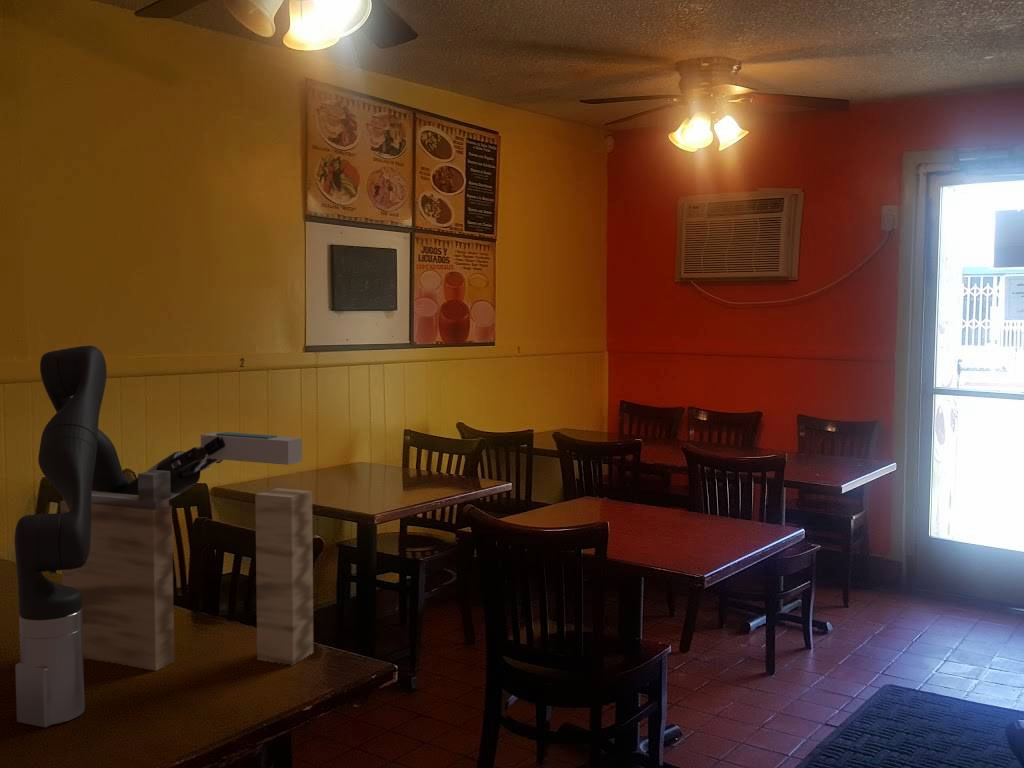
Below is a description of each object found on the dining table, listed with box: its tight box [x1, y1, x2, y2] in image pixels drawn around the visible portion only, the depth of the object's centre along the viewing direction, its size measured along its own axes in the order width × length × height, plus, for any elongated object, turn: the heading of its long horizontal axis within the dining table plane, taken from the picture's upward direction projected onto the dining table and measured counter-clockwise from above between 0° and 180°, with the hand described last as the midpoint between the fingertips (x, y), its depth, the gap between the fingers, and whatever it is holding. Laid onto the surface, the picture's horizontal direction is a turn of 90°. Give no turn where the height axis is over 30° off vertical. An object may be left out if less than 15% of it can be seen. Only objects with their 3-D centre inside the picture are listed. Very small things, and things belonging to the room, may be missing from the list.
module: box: [200, 431, 303, 466], centre depth 181 cm, size 20×4×5 cm, turn 69°
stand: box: [254, 487, 314, 666], centre depth 180 cm, size 7×8×32 cm
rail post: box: [59, 470, 175, 671], centre depth 178 cm, size 5×22×36 cm, turn 70°
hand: (230, 439), depth 182 cm, fingers closed on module, 4 cm apart
